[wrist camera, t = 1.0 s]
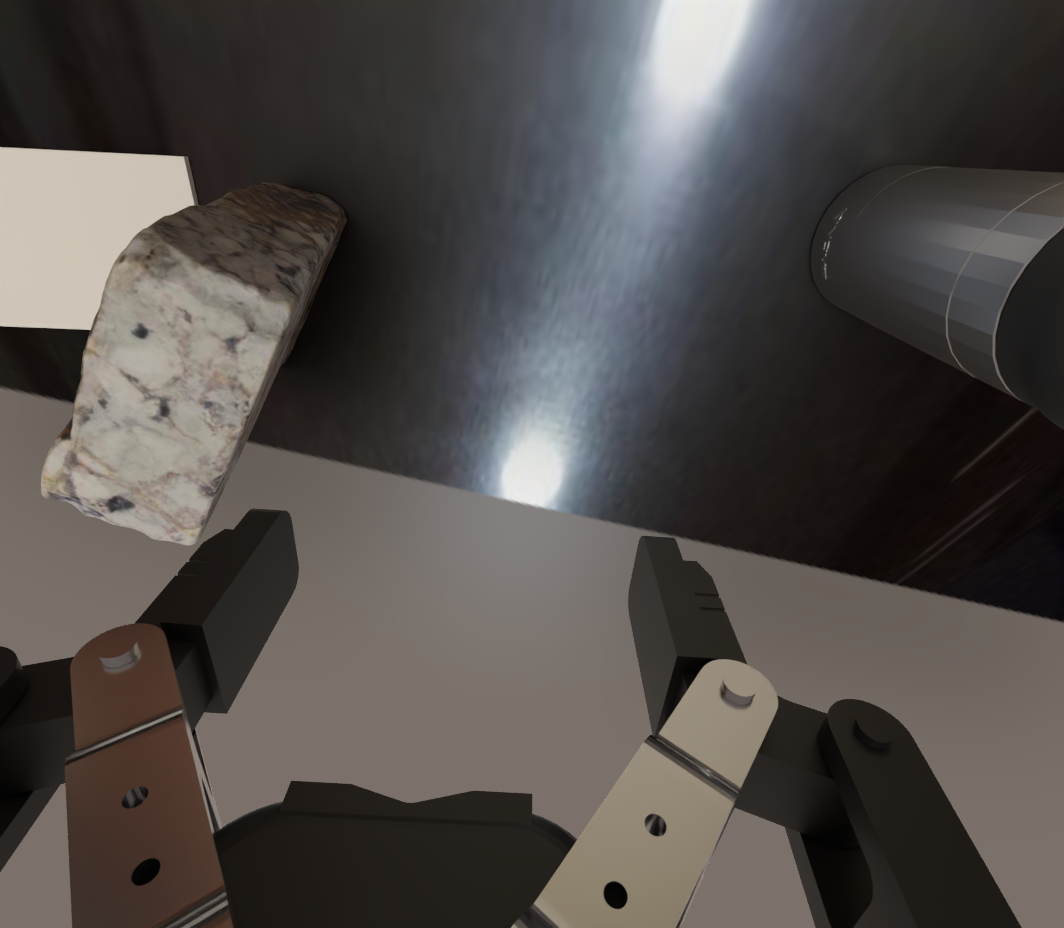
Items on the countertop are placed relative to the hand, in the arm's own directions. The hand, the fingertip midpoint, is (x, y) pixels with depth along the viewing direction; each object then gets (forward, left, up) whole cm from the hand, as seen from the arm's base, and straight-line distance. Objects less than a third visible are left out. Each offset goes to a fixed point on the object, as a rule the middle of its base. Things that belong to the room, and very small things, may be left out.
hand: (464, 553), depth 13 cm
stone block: (+15, 0, -29) cm, 33 cm away
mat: (+28, -1, -30) cm, 41 cm away
